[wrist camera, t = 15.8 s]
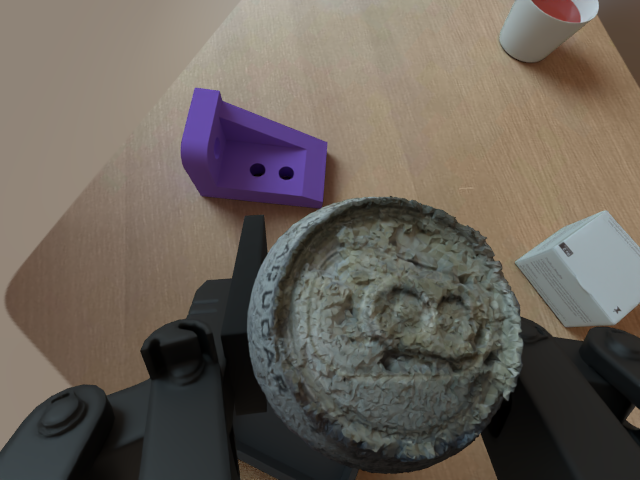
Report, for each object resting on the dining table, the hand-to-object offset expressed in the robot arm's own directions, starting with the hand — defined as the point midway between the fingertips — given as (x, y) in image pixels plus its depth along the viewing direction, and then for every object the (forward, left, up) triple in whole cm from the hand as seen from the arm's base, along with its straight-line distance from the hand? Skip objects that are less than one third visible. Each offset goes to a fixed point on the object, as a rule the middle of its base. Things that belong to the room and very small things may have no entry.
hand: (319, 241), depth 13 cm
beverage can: (+1, -4, -4) cm, 5 cm away
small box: (+23, +13, -16) cm, 31 cm away
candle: (+12, +43, -16) cm, 48 cm away
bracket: (-9, +10, -16) cm, 21 cm away
